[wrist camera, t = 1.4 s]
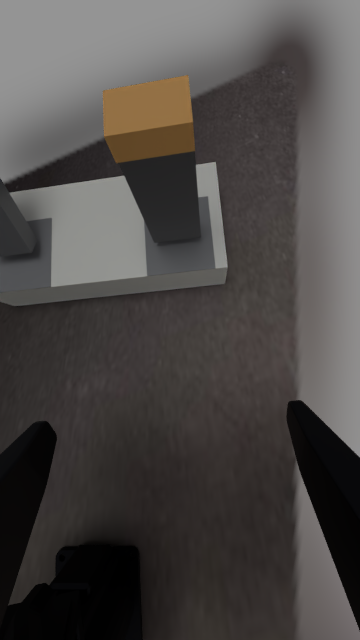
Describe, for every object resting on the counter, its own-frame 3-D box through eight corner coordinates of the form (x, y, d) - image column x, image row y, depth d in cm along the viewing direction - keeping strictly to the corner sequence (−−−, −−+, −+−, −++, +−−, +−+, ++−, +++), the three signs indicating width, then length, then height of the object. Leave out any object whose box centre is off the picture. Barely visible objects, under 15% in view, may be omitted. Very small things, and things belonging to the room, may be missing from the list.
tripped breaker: (201, 240, 20) (192, 121, 10) (154, 246, 20) (104, 136, 11) (198, 213, 20) (188, 75, 11) (152, 219, 21) (103, 90, 11)
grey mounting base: (224, 283, 24) (227, 266, 20) (14, 306, 26) (-21, 294, 22) (214, 193, 26) (215, 161, 22) (18, 220, 28) (-15, 195, 24)
